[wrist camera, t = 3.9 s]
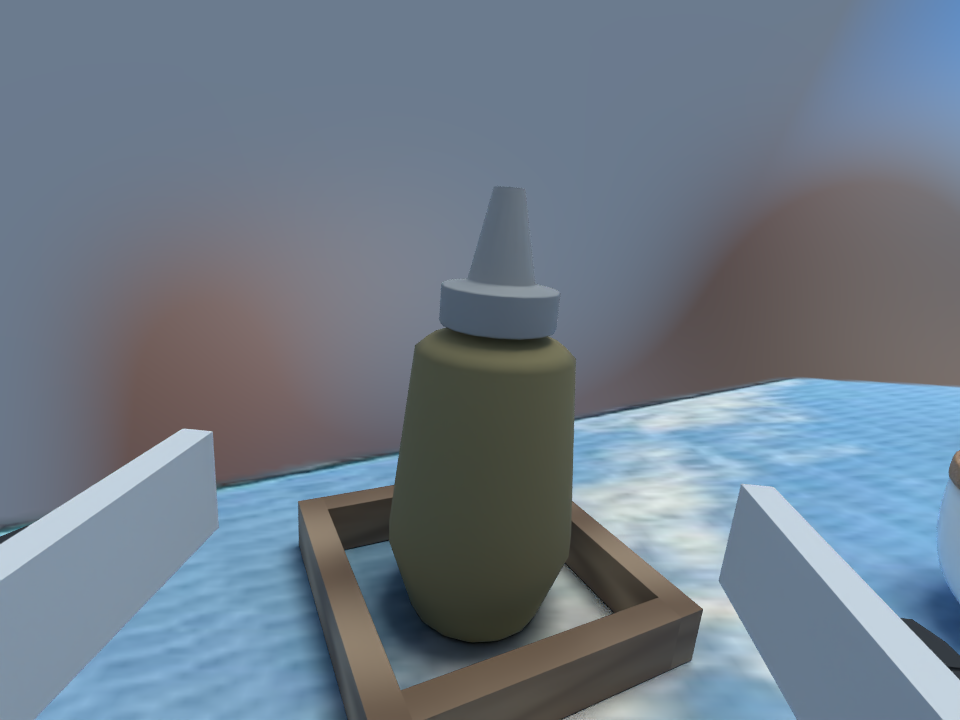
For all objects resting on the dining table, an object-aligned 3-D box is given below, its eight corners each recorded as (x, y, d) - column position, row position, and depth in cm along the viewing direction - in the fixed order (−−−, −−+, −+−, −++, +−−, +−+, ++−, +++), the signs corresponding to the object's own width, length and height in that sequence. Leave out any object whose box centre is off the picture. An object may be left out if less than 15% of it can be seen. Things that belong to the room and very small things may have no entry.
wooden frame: (691, 659, 21) (703, 609, 21) (371, 804, 15) (373, 739, 15) (521, 498, 33) (525, 462, 32) (298, 544, 27) (298, 501, 26)
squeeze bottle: (365, 659, 20) (375, 169, 16) (402, 536, 28) (418, 186, 23) (572, 679, 20) (648, 191, 15) (552, 550, 28) (599, 200, 23)
